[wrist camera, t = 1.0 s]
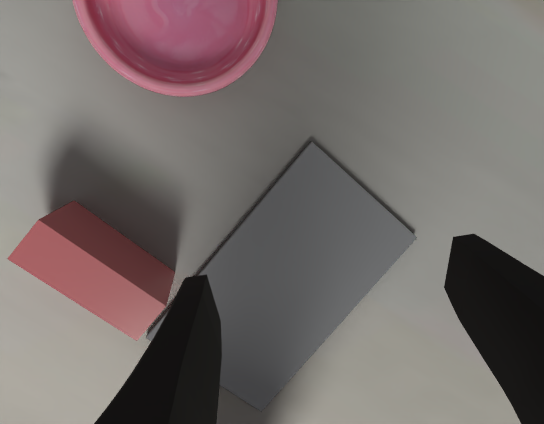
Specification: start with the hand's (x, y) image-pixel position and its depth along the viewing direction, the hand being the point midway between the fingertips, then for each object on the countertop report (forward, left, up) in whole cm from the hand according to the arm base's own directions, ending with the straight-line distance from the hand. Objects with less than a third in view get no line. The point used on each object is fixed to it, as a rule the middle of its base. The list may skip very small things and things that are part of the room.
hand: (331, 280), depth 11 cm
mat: (-5, -7, -19) cm, 21 cm away
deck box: (-11, +5, -19) cm, 23 cm away
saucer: (+6, +12, -19) cm, 24 cm away
